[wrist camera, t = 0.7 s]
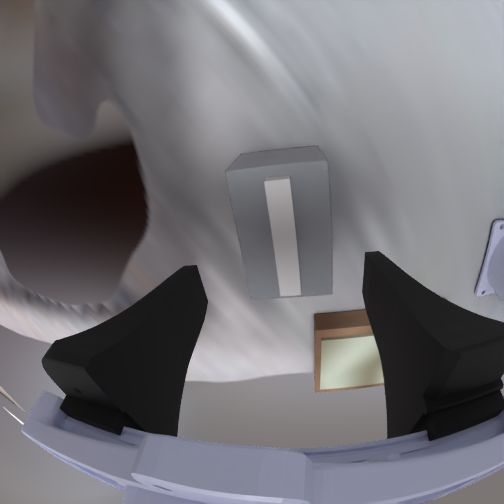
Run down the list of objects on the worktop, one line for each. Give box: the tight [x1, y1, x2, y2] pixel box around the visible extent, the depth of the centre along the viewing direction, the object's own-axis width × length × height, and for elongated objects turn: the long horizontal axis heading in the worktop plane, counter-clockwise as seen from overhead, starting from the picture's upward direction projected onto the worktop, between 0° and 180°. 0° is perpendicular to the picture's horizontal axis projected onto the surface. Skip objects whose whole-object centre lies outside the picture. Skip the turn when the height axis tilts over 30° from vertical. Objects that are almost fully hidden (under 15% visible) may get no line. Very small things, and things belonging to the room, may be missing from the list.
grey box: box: [225, 146, 333, 300], centre depth 17 cm, size 5×8×6 cm, turn 9°
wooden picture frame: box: [314, 310, 384, 392], centre depth 24 cm, size 13×10×2 cm
